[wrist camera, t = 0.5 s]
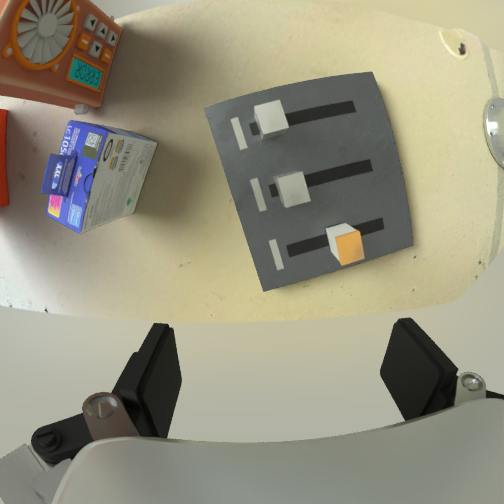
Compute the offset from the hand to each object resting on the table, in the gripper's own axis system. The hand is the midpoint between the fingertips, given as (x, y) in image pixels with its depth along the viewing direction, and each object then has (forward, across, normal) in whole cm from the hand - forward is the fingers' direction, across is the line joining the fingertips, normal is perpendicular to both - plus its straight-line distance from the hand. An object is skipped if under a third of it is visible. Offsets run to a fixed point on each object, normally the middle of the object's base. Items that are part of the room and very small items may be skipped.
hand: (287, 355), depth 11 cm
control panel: (+24, +23, -24) cm, 41 cm away
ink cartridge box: (+25, +17, -8) cm, 31 cm away
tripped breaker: (+20, -9, 0) cm, 22 cm away
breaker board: (+24, -6, -7) cm, 26 cm away
